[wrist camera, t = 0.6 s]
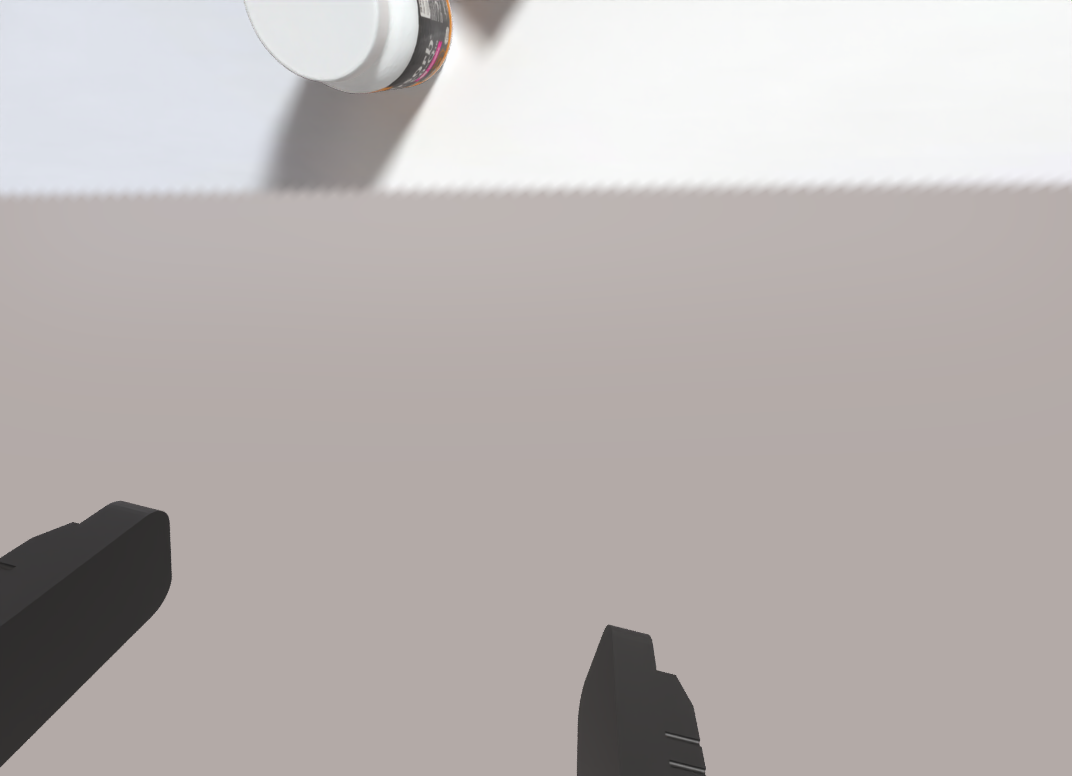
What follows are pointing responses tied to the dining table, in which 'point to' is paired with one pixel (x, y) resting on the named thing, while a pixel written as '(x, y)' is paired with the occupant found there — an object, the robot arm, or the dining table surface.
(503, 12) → the dining table surface
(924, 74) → the dining table surface
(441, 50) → the pill bottle
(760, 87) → the dining table surface
